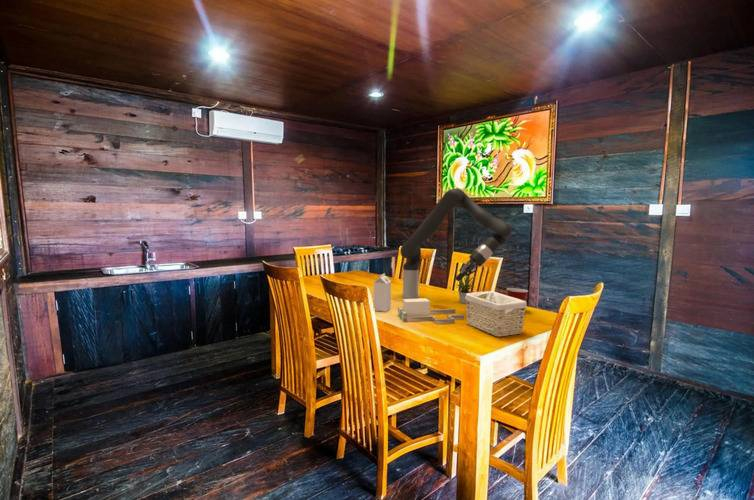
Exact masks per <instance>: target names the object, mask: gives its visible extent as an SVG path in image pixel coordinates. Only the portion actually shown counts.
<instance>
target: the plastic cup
mask: <svg viewBox="0 0 754 500" xmlns="http://www.w3.org/2000/svg"><path fill="white" fill-rule="evenodd" d="M506 291H507V296H510V297H513V298H517V299H520V300H523V301H526V298H527V294H528V293H529V290H527V289H522V288H515V287H507V288H506Z"/></svg>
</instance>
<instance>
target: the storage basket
mask: <svg viewBox="0 0 754 500" xmlns="http://www.w3.org/2000/svg"><path fill="white" fill-rule="evenodd" d="M465 299H466V303H465V305H466V308H465V310H466V311H465V313H466V323H467V325H469V326H471V327H473V328H476V329H478V330H481V331H483V332H485V333H488V334H490V335H491V336H494V337H505V336H506V337H508V336H514V335H518V334H522V333H523V327H524V321H525V313H526V311H527V310H526V308H527V306H528V305H527V301H526V300H525V301H523V300H520V299H517V298H513V297H510V296H508V295H507V294H504V293H503V294H502V293H500V292H497V291H494V290H487V291H477V292H471V293H467V294H466V297H465Z"/></svg>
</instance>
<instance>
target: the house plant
mask: <svg viewBox="0 0 754 500" xmlns="http://www.w3.org/2000/svg"><path fill="white" fill-rule="evenodd" d="M476 277H477V276H476V275H475V276H472V277H470V278H468V276H465V277H463V278H462V279H461V280H460V281H458V284H457V283H456V284H455V285H456V288H457V289H459V290H458V297H459V303H460V304H466V299H465V297H466V294H467V293H472V291H470V290H474V288H475V286H474V281H476V280H477V278H476ZM463 279H464V282H463ZM475 289H476V288H475Z"/></svg>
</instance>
